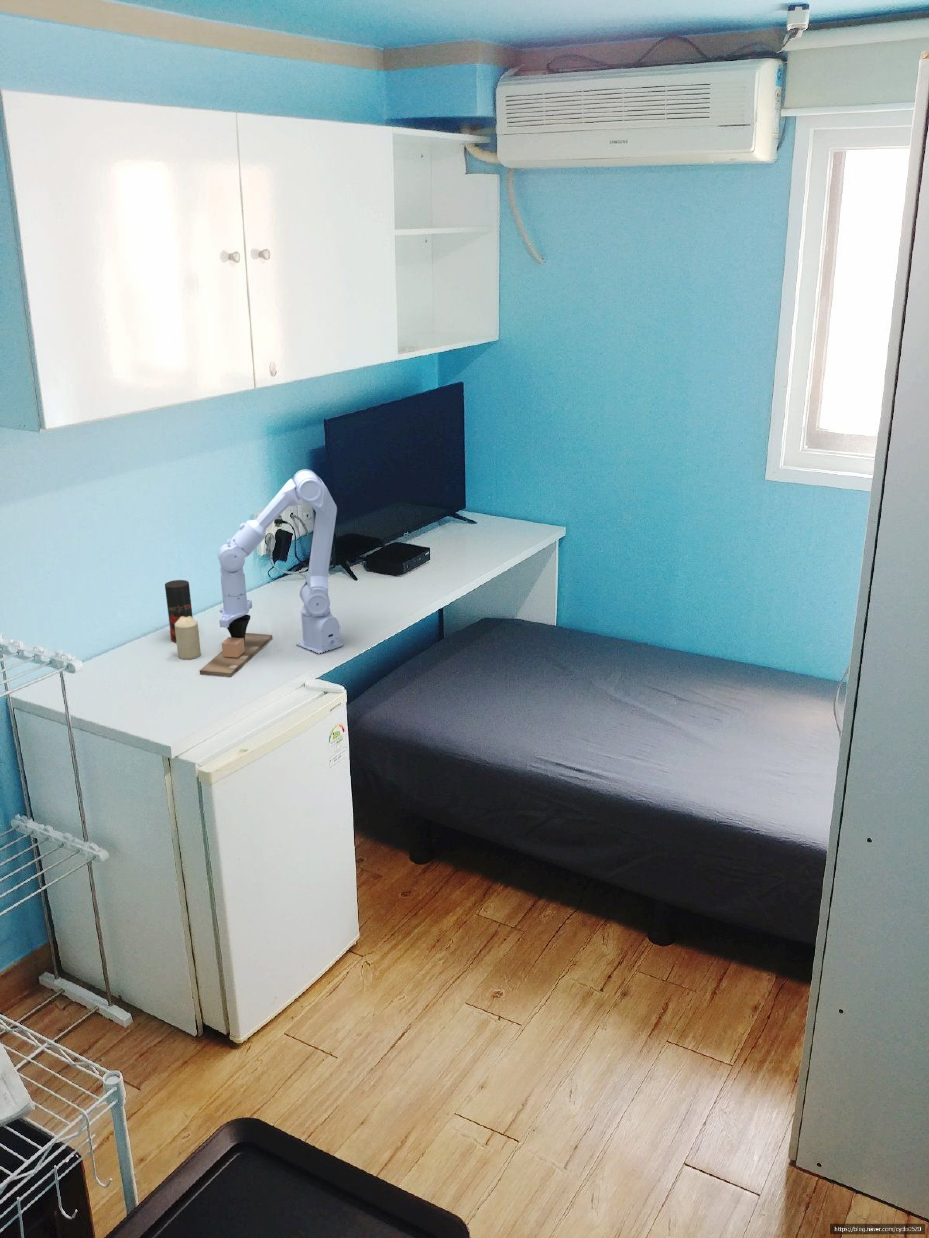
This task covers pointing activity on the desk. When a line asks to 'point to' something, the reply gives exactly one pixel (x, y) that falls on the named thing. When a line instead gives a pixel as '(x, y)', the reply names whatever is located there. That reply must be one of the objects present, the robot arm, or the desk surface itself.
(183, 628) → the candle
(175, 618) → the deodorant
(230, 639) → the peach colored cube
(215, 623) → the desk surface
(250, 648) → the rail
